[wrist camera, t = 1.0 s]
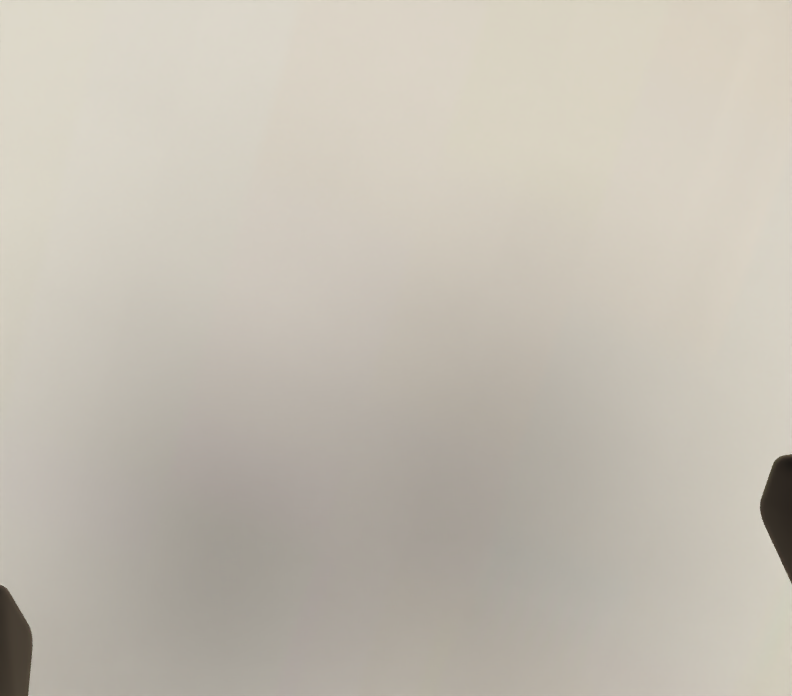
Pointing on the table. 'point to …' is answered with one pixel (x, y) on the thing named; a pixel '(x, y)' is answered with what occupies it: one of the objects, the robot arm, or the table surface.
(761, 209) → the table surface
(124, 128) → the table surface
